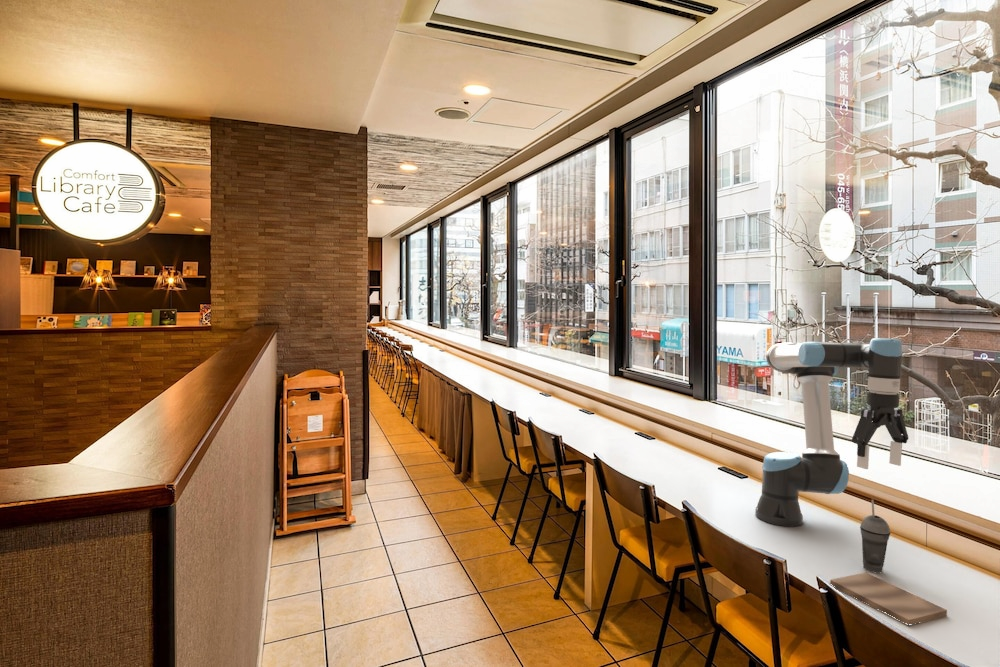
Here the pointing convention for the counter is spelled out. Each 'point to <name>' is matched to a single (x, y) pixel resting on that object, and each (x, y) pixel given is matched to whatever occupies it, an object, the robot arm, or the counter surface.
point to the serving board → (889, 598)
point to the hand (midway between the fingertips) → (878, 466)
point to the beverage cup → (874, 541)
